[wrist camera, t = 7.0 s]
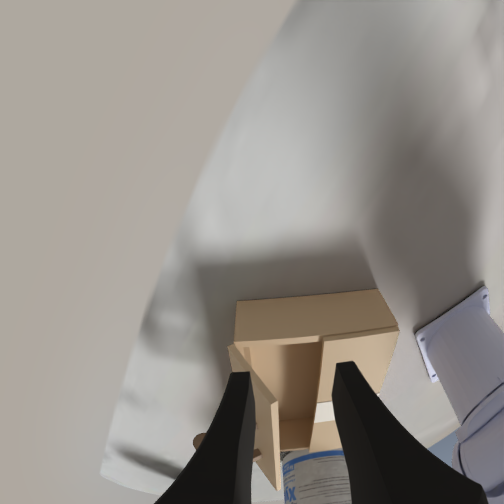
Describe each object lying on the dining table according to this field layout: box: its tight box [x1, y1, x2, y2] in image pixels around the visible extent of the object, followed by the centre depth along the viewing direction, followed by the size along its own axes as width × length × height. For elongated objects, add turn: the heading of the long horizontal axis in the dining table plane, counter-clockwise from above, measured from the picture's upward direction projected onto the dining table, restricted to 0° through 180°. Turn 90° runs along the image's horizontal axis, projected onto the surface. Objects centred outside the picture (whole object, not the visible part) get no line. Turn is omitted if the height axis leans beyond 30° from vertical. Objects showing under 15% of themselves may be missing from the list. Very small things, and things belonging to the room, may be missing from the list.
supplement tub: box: [282, 448, 352, 504], centre depth 26 cm, size 10×10×15 cm
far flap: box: [193, 344, 281, 491], centre depth 18 cm, size 5×16×5 cm
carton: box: [234, 289, 400, 452], centre depth 22 cm, size 10×16×4 cm, turn 5°
